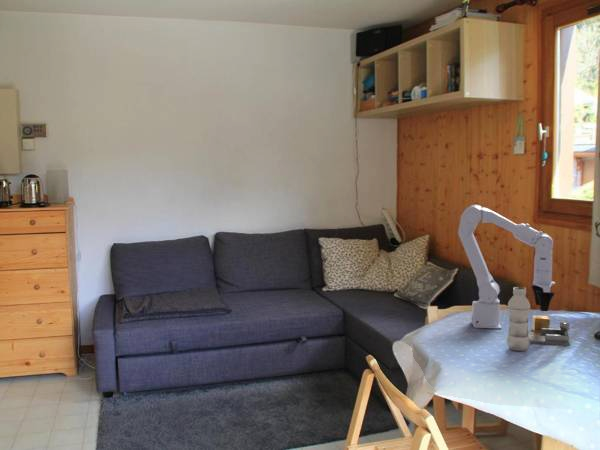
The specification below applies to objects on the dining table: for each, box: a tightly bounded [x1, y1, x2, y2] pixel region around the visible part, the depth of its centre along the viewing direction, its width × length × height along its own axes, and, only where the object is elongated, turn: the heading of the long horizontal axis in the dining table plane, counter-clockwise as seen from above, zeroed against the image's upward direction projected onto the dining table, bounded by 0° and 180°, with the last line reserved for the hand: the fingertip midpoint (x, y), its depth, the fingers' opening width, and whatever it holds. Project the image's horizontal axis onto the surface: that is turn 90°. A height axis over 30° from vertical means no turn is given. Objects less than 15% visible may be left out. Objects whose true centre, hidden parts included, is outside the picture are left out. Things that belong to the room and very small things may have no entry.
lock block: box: [532, 315, 551, 332], centre depth 198 cm, size 5×4×5 cm
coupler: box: [528, 321, 571, 346], centre depth 189 cm, size 13×10×6 cm
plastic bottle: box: [506, 286, 531, 352], centre depth 179 cm, size 6×7×20 cm
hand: (541, 307), depth 197 cm, fingers open, 7 cm apart
